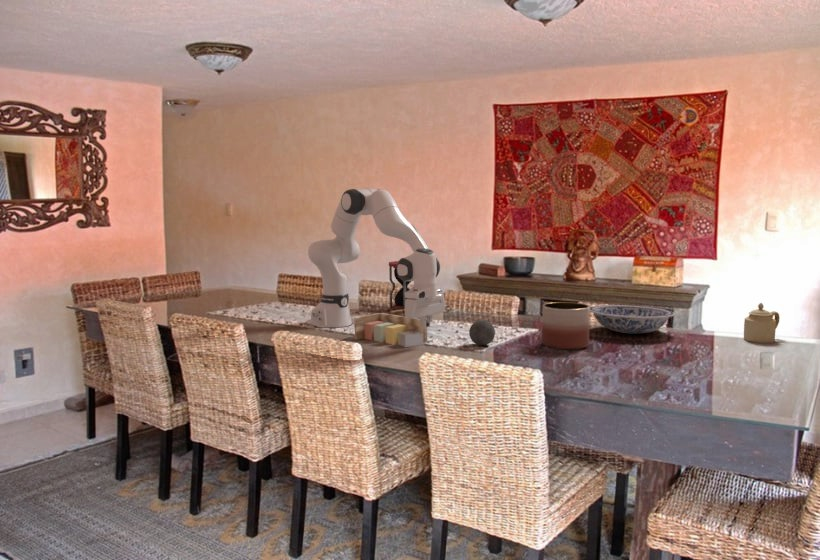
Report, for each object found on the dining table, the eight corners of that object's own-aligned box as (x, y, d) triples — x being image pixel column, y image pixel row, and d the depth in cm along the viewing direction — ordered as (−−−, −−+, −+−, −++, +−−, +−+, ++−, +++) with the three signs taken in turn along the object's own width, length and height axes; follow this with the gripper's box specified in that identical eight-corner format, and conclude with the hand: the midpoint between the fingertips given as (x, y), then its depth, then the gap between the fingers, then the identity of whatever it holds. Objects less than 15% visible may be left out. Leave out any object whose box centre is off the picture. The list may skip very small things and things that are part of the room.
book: (385, 343, 263) (385, 327, 262) (399, 339, 269) (399, 324, 268) (392, 344, 261) (392, 328, 260) (406, 341, 266) (406, 325, 266)
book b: (374, 340, 268) (373, 325, 267) (387, 337, 273) (387, 322, 273) (381, 342, 265) (380, 326, 264) (394, 338, 271) (394, 323, 270)
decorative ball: (464, 343, 260) (464, 318, 259) (486, 341, 264) (486, 316, 263) (477, 349, 251) (477, 323, 250) (499, 346, 255) (500, 321, 254)
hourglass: (420, 313, 330) (420, 263, 327) (388, 313, 330) (387, 263, 327) (420, 307, 346) (420, 260, 343) (390, 308, 346) (389, 260, 343)
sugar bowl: (749, 334, 273) (751, 298, 271) (779, 337, 266) (781, 301, 264) (740, 340, 261) (742, 303, 259) (771, 344, 254) (774, 305, 252)
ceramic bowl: (686, 331, 279) (687, 308, 278) (652, 345, 254) (653, 319, 253) (610, 322, 303) (611, 300, 301) (572, 333, 278) (573, 310, 277)
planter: (562, 352, 244) (563, 310, 242) (532, 343, 259) (532, 304, 258) (598, 347, 252) (599, 306, 250) (567, 338, 268) (568, 300, 266)
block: (398, 344, 260) (398, 332, 259) (415, 342, 264) (415, 330, 263) (405, 347, 255) (405, 335, 254) (423, 345, 259) (423, 333, 258)
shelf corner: (354, 339, 270) (354, 317, 269) (380, 333, 281) (380, 312, 280) (401, 348, 253) (401, 325, 251) (427, 342, 264) (427, 319, 263)
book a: (364, 339, 271) (364, 323, 270) (378, 335, 277) (378, 320, 276) (371, 340, 269) (371, 324, 268) (385, 337, 274) (384, 321, 274)
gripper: (436, 288, 262) (436, 322, 263) (401, 293, 246) (402, 330, 248) (448, 289, 257) (449, 324, 259) (414, 295, 242) (414, 332, 244)
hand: (426, 327), depth 253 cm, fingers closed
